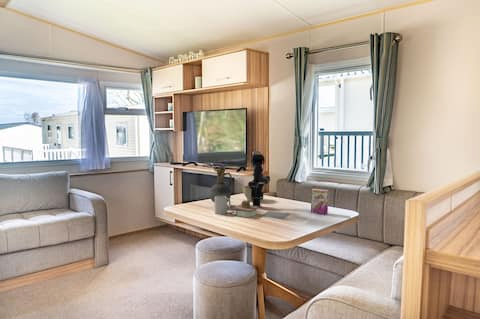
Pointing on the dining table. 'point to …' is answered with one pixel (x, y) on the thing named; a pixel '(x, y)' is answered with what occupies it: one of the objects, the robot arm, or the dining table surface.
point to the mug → (221, 204)
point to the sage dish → (245, 213)
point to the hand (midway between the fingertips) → (257, 194)
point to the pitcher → (220, 185)
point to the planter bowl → (248, 192)
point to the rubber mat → (275, 215)
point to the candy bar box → (319, 201)
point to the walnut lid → (245, 207)
